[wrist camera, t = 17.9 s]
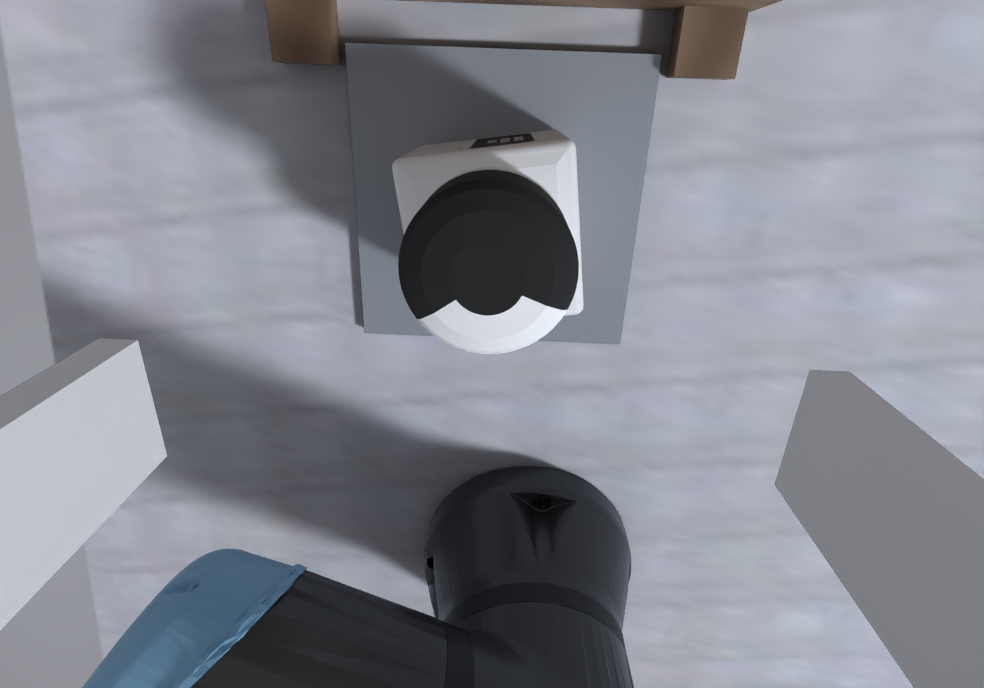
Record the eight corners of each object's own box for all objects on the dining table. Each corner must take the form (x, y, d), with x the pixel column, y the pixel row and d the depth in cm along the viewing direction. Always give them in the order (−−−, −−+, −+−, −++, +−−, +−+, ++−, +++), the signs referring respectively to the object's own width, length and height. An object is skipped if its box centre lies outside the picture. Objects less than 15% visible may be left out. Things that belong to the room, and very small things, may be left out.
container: (417, 145, 30) (355, 177, 18) (560, 128, 29) (595, 149, 17) (439, 281, 33) (398, 386, 21) (568, 268, 32) (602, 368, 20)
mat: (366, 329, 35) (364, 333, 34) (348, 43, 28) (344, 42, 28) (618, 340, 35) (619, 344, 34) (659, 55, 28) (661, 54, 27)
